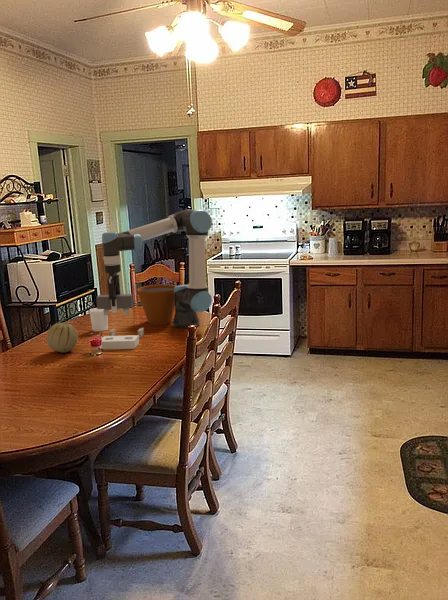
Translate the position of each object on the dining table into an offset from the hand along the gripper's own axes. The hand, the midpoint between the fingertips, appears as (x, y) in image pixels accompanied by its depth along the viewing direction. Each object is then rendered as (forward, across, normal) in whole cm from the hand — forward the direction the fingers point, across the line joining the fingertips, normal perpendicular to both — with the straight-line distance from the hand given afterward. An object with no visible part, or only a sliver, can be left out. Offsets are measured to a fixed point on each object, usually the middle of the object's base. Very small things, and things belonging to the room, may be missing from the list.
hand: (116, 310), depth 262 cm
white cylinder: (+18, -32, -19) cm, 41 cm away
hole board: (+18, 0, 0) cm, 18 cm away
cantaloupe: (+18, +7, -26) cm, 32 cm away
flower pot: (+18, -48, +12) cm, 53 cm away
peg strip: (+2, 0, 0) cm, 2 cm away
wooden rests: (+18, -16, 0) cm, 24 cm away
